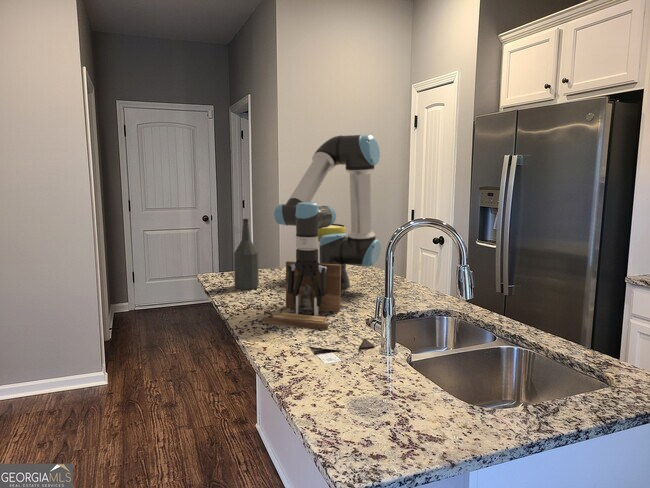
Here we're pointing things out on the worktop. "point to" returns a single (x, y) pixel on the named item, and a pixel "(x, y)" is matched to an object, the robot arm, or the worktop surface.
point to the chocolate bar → (364, 345)
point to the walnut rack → (327, 302)
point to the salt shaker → (307, 301)
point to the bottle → (246, 262)
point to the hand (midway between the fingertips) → (307, 314)
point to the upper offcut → (300, 317)
